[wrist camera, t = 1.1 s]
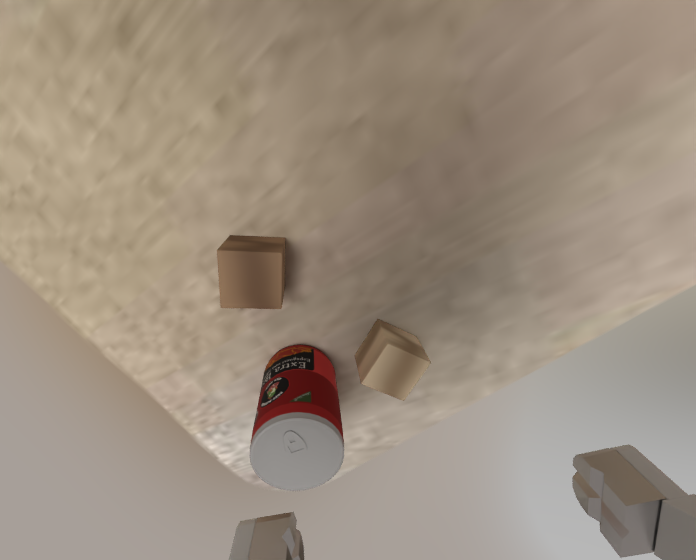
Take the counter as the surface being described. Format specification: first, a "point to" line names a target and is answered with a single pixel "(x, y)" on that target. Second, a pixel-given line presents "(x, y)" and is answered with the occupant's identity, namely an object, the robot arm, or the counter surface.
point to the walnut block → (252, 272)
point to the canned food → (297, 421)
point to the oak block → (391, 360)
